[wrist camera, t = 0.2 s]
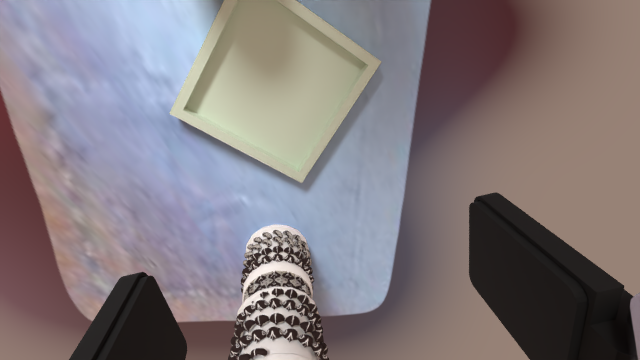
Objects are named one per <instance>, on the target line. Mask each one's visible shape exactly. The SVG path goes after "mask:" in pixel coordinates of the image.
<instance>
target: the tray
mask: <svg viewBox="0 0 640 360" xmlns="http://www.w3.org/2000/svg"><path fill="white" fill-rule="evenodd" d="M380 63H381V61H380V60H378V59H377V58H375V57H374V56H373V55H371V54H370V53H369V52H367V51H366V50H364V49H363V48H362V47H360V46H359V45H357V44H356V43H355V42H353V41H352V40H350V39H349V38H348V37H346V36H345V35H343V34H342V33H341V32H339V31H338V30H337V29H335V28H334V27H332V26H331V25H330V24H328V23H327V22H325V21H324V20H323V19H321V18H320V17H318V16H317V15H316V14H314V13H313V12H312V11H310V10H309V9H307V8H306V7H305V6H303V5H302V4H300V3H299V2H298V1H296V0H224V1H223V3H222V6H221V8H220V10H219V12H218V14H217V16H216V18H215V20H214V22H213V24H212V26H211V28H210V30H209V33H208V35H207V37H206V39H205V41H204V43H203V45H202V47H201V49H200V51H199V53H198V55H197V57H196V59H195V62H194V64H193V66H192V68H191V70H190V72H189V74H188V76H187V78H186V80H185V82H184V84H183V86H182V89H181V91H180V93H179V95H178V97H177V99H176V101H175V103H174V105H173V107H172V109H171V111H170V113H169V114H171V115H173V116H175V117H177V118H179V119H181V120H183V121H184V122H186V123H188V124H190V125H192V126H194V127H196V128H198V129H200V130H202V131H203V132H205V133H207V134H209V135H211V136H213V137H215V138H217V139H219V140H221V141H222V142H224V143H226V144H228V145H230V146H232V147H234V148H236V149H238V150H240V151H241V152H243V153H245V154H247V155H249V156H251V157H253V158H255V159H257V160H259V161H261V162H262V163H264V164H266V165H268V166H270V167H272V168H274V169H276V170H278V171H280V172H281V173H283V174H285V175H287V176H289V177H291V178H293V179H295V180H297V181H299V182H300V183H302V182H303V180H304V179H305V177H306V176H307V174H308V173H309V171H310V170H311V168H312V167H313V165H314V164H315V162H316V161H317V159H318V158H319V156H320V155H321V153H322V152H323V150H324V149H325V147H326V145H327V144H328V142H329V141H330V139H331V138H332V136H333V135H334V133H335V132H336V130H337V129H338V127H339V126H340V124H341V123H342V121H343V120H344V118H345V117H346V115H347V114H348V112H349V111H350V109H351V108H352V106H353V104H354V103H355V101H356V100H357V98H358V97H359V95H360V94H361V92H362V91H363V89H364V88H365V86H366V85H367V83H368V82H369V80H370V79H371V77H372V76H373V74H374V73H375V71H376V70H377V68H378V67H379V65H380Z"/></svg>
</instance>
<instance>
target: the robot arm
mask: <svg viewBox="0 0 640 360" xmlns="http://www.w3.org/2000/svg"><path fill="white" fill-rule="evenodd" d="M469 275H470V280H471V282H472V284H473V286H474V287H475V289H476V290H477V291H478V293H479V294H480V295H481V297H482V298H483V299H484V300H485V302H486V303H487V304H488V306H489V307H490V308H491V310H492V311H493V312H494V313H495V315H496V316H497V317H498V319H499V320H500V321H501V323H502V324H503V325H504V326H505V328H506V329H507V330H508V332H509V333H510V334H511V335H512V337H513V338H514V339H515V341H516V342H517V343H518V345H519V346H520V347H521V349H522V350H523V351H524V352H525V354H526V355H527V356H528V358H529V359H530V360H640V293H638V294H636V295H635V296H634V297H633V296H632V295H631V294H629V293H628V292H627V291H625V290H624V285H622V284H621V283H620V282H618V281H617V280H616V279H614V278H613V277H611V276H610V275H609V274H607V273H606V272H605V271H603V270H602V269H601V268H599V267H598V266H596V265H595V264H594V263H593V262H591V261H590V260H588V259H587V258H586V257H584V256H583V255H582V254H580V253H579V252H578V251H576V250H575V249H574V248H572V247H571V246H569V245H568V244H567V243H565V242H564V241H563V240H561V239H560V238H559V237H557V236H556V235H555V234H553V233H552V232H550V231H549V230H548V229H546V228H545V227H544V226H542V225H541V224H540V223H538V222H537V221H536V220H534V219H533V218H531V217H530V216H529V215H527V214H526V213H525V212H523V211H522V210H521V209H519V208H518V207H517V206H515V205H514V204H512V203H511V202H510V201H508V200H507V199H506V198H504V197H503V196H502V195H500V194H499V193H491V194H487V195H483V196H478V197H476V198H475V200H474V203H471V204H470V208H469ZM186 353H187V344H186V340H185V338H184V336H183V334H182V332H181V330H180V328H179V326H178V324H177V322H176V320H175V318H174V316H173V314H172V312H171V310H170V308H169V306H168V304H167V302H166V300H165V298H164V296H163V294H162V292H161V290H160V288H159V286H158V284H157V282H156V280H155V278H154V277H153V276H148V275H147V274H146V273H144V272H141V273H136V274H132V275H127V276H123V277H121V278H120V279H119V280H118V282H117V283H116V285H115V287H114V288H113V290H112V292H111V293H110V295H109V296H108V298H107V300H106V301H105V303H104V304H103V306H102V308H101V309H100V311H99V312H98V314H97V316H96V317H95V319H94V320H93V322H92V324H91V325H90V327H89V329H88V330H87V332H86V334H85V335H84V337H83V338H82V340H81V341H80V343H79V345H78V346H77V348H76V350H75V351H74V353H73V354H72V356H71V358H70V359H69V360H185V358H186Z"/></svg>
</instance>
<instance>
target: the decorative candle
mask: <svg viewBox="0 0 640 360" xmlns="http://www.w3.org/2000/svg"><path fill="white" fill-rule="evenodd" d="M244 256H245V258H247V260H244V262H243V265H244V266H246V268H245V269H243V271H242V275H243V276H244V277H243V278H242V279H241V284H242V286H243V287H242V288H241V292H242V293H243V299H242V302H243V304H242V306H241V307H240V309H239V310H238V316H237V322H236V323H235V326H234V327H235V332H234V337H233V338H232V339H231V345H232V348H231V351H230V352H231V354H230V355H229V357H228V360H319V357H320V360H329V358H328V357H327V356H326V355H325V354H326V353H327V351H328V348H327V345H326V344H325V343H323V335H322V333H323V328H322V326H321V325H320V323H321V317H320V316H319V314H318V310H317V306H316V304H315V302H314V301H313V300H312V296H313V285H312V283H313V282H314V277H313V276H312V275H311V274H312V272H313V270H312V268H311V267H310V266H311V264H312V261H311V258H310V252H309V248H308V245H307V241H306V238H305V237H304V236H303V235H302V234H301V233H300V232H299V231H298V230H297V229H294V228H292V227H290V226H288V225H277V224H274V225H270V226H266V227H263V228H261V229H260V230H258V231H257V232H255V233H254V234H253V235H252V236H251V238H250V239H249V241H248V243H247V246H246V253H245V254H244ZM238 339H239V340H238ZM236 356H238V357H237V359H236Z"/></svg>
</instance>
